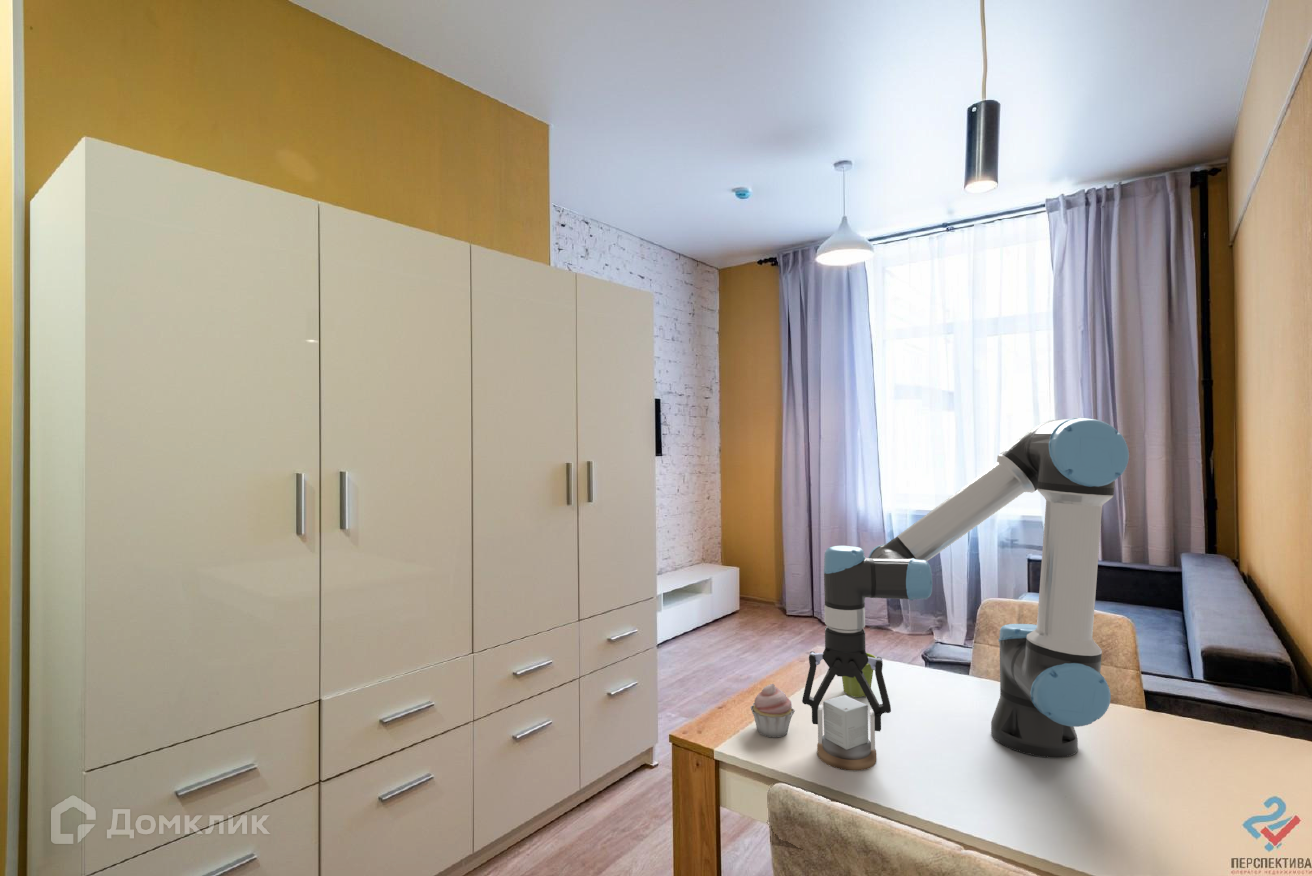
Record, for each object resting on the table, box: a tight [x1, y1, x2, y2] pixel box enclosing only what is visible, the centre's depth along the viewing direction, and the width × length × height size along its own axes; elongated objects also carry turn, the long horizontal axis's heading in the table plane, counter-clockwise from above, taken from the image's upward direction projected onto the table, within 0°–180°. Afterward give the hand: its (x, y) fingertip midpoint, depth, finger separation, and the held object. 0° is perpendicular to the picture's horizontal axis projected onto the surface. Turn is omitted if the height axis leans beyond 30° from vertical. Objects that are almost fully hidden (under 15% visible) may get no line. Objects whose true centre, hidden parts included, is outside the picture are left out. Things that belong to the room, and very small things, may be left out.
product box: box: [822, 694, 869, 750], centre depth 126 cm, size 6×6×7 cm
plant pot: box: [841, 652, 877, 698], centre depth 156 cm, size 9×9×9 cm
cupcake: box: [750, 683, 796, 738], centre depth 137 cm, size 9×9×10 cm
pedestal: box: [816, 734, 877, 772], centre depth 126 cm, size 11×11×3 cm
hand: (846, 743), depth 126 cm, fingers closed on pedestal, 9 cm apart
